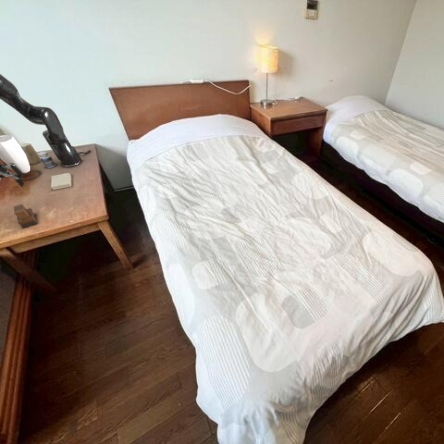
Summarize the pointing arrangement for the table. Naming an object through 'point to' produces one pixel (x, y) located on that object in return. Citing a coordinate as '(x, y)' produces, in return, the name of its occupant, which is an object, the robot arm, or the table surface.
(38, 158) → the olive brown tapered block
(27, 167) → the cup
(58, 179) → the tile
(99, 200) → the table surface
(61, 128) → the robot arm
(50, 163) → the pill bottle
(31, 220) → the brush
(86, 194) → the table surface
